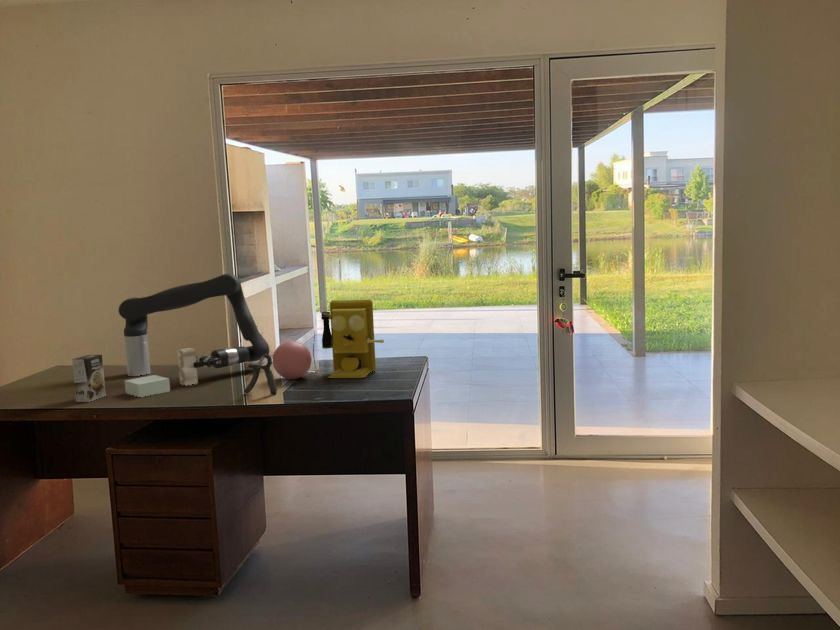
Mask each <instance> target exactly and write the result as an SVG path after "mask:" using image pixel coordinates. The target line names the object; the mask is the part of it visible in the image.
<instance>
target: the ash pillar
mask: <svg viewBox="0 0 840 630" xmlns="http://www.w3.org/2000/svg"><path fill="white" fill-rule="evenodd" d="M176 352H177V353H176V354H177V362H178V374H179V376H178V377H179V385H180V384H181V385H180V386H184V385H185V386H184V387H187V386H188V385H189V386H193V385H192V384H194V385H198V384H199V381H198V368H194V362H196V357H197V355H196V349H195V348H190V347H188V348H181V349H177V351H176ZM197 383H198V384H197ZM189 386H188V387H189Z"/></svg>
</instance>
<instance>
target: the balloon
mask: <svg viewBox="0 0 840 630" xmlns="http://www.w3.org/2000/svg"><path fill="white" fill-rule="evenodd" d="M312 358H313V357H312V354H311V351H310V350H309V348H308V347H307V346H306V345H305V344H304V343H303V342H299V341H296V340H288V341H285V342H283V343H281V344H280V345H278V347H276V349H275V350H274V352H273V354H272V366H273V368H274V370H275V372H276V373H277V374H278V375H279V376H281V377H282V378H284V379H287V380H298V379H300V378H302V377H303V376H305V375H306V374H307V373H308V371H310V368H311V366H312Z"/></svg>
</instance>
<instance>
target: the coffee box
mask: <svg viewBox="0 0 840 630" xmlns="http://www.w3.org/2000/svg"><path fill="white" fill-rule="evenodd" d="M71 363H72V371H73V383H74V393H75V402H77V403H91V401H92V402H94V400H95V401H97V400H100V399H103V398H105V397H107V396H106V395H107V394H106V383H105V375H104V364H103V354H87V355H84V356H79V357H76V358H72V362H71ZM104 396H105V397H104ZM102 397H103V398H102ZM99 398H100V399H99ZM96 399H97V400H96Z"/></svg>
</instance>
